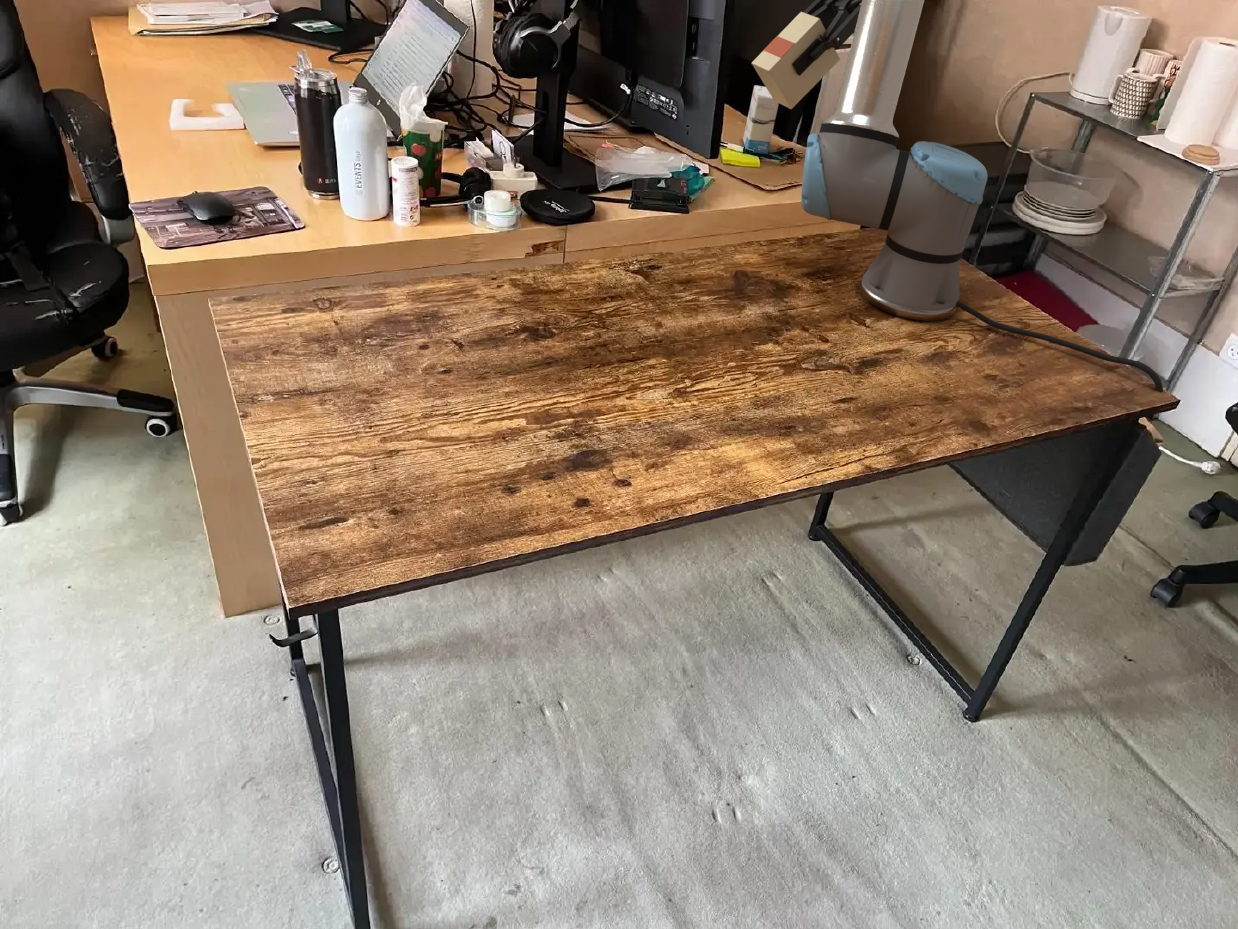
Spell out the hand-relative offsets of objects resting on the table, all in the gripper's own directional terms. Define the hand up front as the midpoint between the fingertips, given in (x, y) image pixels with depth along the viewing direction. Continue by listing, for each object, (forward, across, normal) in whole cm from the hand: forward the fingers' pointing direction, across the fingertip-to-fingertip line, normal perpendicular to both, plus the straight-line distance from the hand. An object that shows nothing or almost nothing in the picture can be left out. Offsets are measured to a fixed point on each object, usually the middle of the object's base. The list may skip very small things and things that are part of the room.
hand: (785, 65), depth 173 cm
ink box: (+10, +14, -19) cm, 25 cm away
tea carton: (-2, 0, -1) cm, 2 cm away
